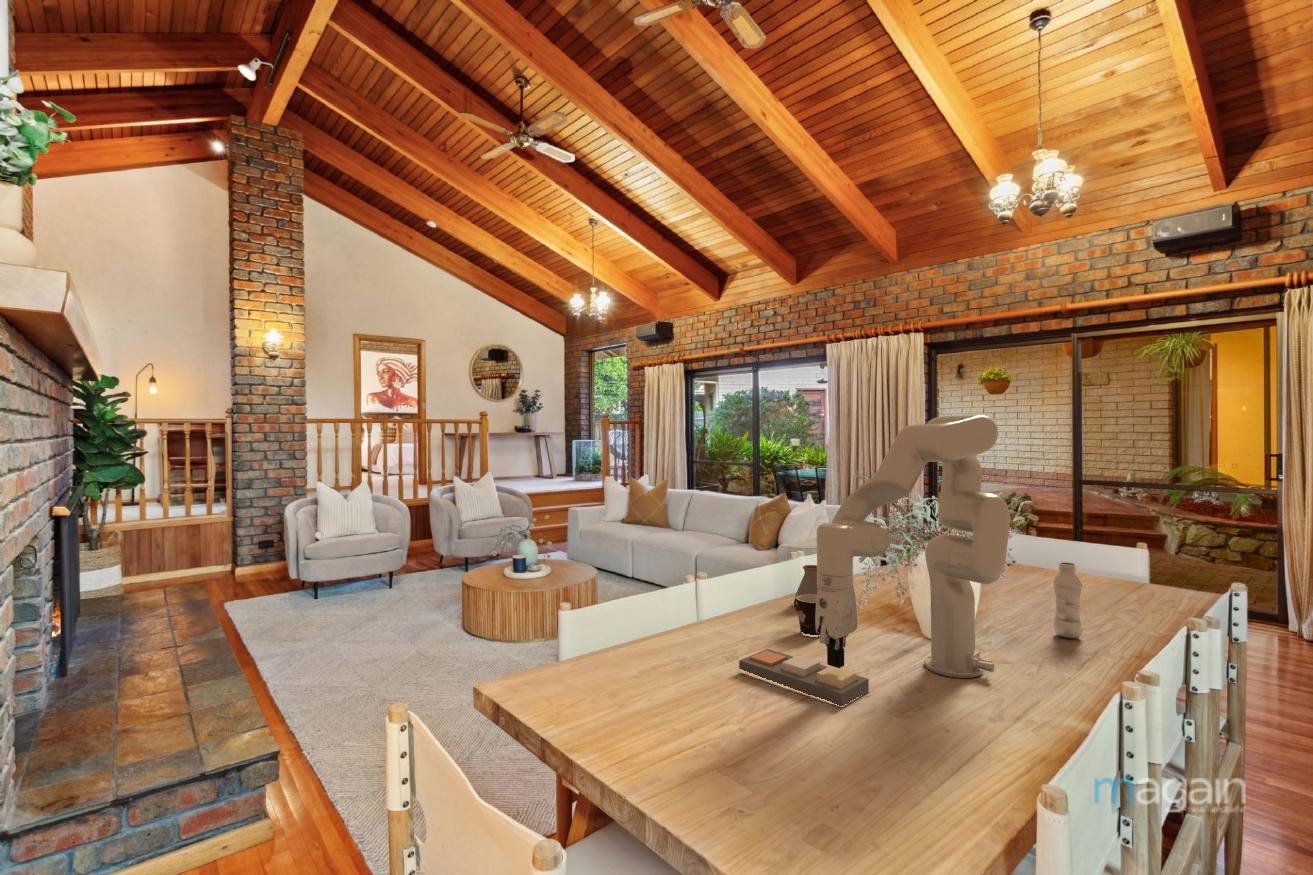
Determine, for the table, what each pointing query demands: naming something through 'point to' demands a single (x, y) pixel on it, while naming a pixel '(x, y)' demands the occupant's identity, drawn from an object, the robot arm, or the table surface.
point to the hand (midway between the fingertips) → (835, 665)
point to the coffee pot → (808, 581)
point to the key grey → (801, 666)
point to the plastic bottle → (1067, 602)
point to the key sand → (836, 677)
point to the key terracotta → (768, 658)
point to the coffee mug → (806, 613)
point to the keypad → (806, 681)
